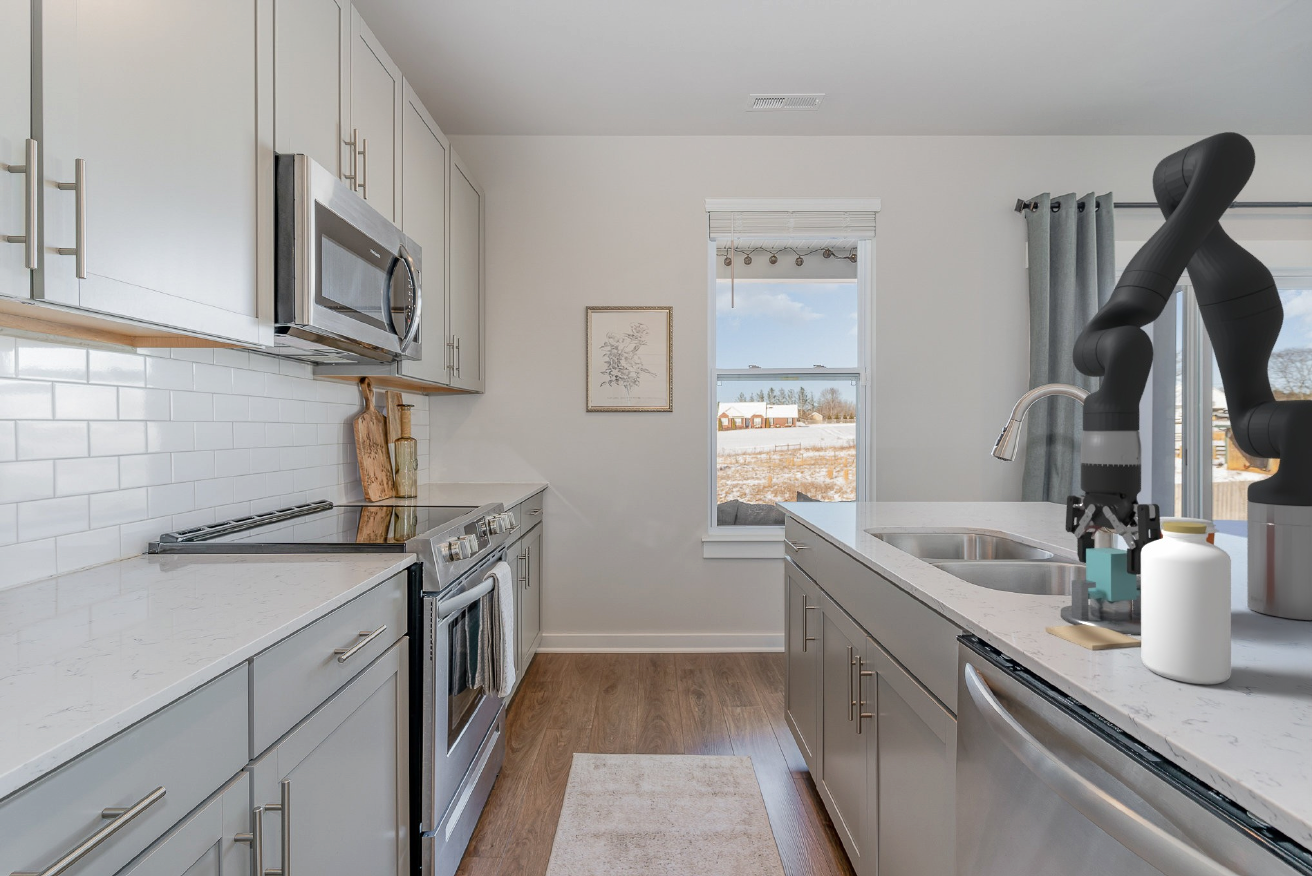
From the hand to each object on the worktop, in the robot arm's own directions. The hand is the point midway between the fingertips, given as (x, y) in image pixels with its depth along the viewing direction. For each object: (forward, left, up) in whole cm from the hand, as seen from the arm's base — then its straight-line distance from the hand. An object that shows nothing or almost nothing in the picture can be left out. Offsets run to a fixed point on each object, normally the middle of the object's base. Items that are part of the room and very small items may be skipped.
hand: (1109, 568), depth 98 cm
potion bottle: (+9, +19, -8) cm, 23 cm away
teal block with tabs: (0, 0, -4) cm, 4 cm away
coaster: (+9, +6, -8) cm, 13 cm away
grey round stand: (0, 0, -8) cm, 8 cm away
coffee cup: (-13, 0, -8) cm, 16 cm away
